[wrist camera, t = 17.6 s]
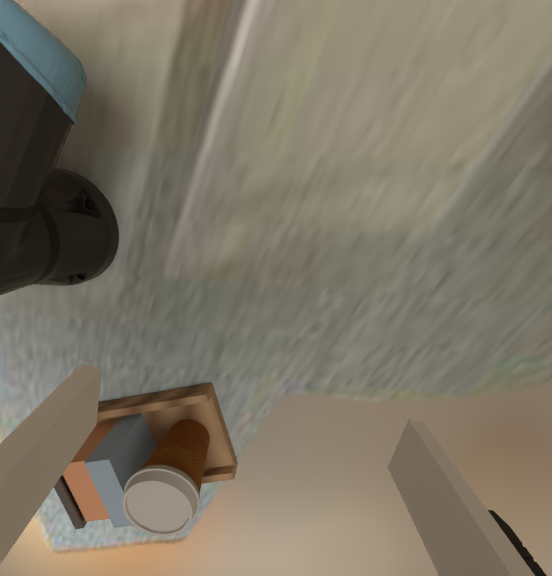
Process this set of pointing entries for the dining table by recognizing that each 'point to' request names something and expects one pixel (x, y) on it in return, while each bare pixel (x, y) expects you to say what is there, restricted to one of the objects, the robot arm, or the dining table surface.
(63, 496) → the bookend
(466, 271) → the dining table surface
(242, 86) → the dining table surface
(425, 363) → the dining table surface
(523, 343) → the dining table surface
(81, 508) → the books
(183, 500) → the disposable coffee cup
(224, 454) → the wooden serving tray
